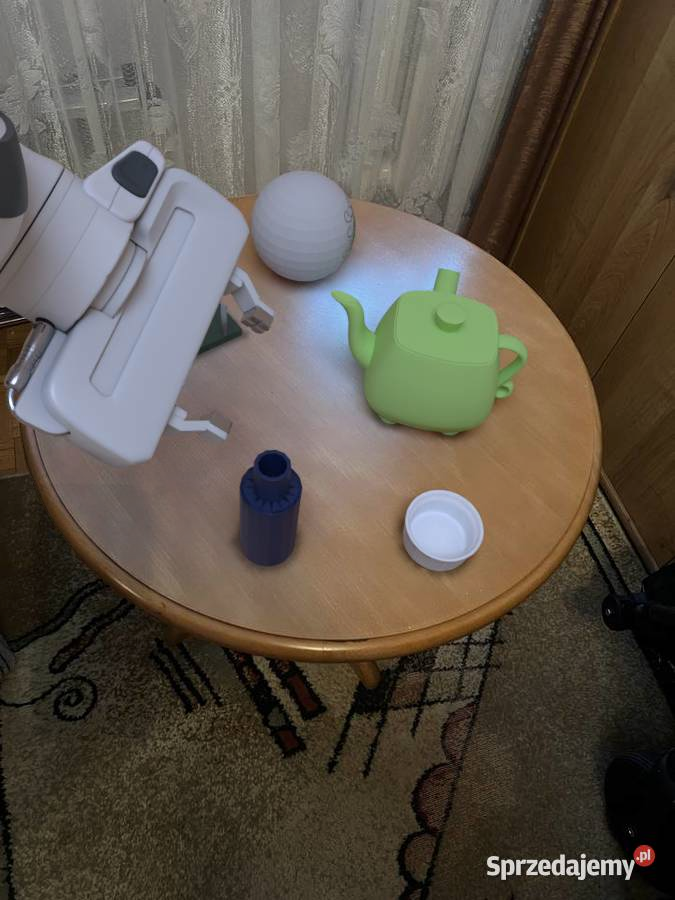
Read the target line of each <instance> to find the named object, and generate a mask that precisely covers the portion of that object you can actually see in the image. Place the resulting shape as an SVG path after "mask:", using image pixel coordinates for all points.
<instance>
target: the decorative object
mask: <svg viewBox="0 0 675 900" xmlns="http://www.w3.org/2000/svg"><path fill="white" fill-rule="evenodd" d="M355 216H356V215H355V211H354V208H353V205H352V202H351V201H350V199H349V197H348V195H347V194H346V192H345V191H344V190H343V189H342V188H341V186H340V185H339V184H338V183H337V182H336V181H334V180H333V179H331V178H329V177H328V176H326V175H324V174H322V173H319V172H316V171H312V170H305V169H304V170H299V169H298V170H292V171H289V172H286V173H283V174H281V175H279V176H277V177H275V178H274V179H272V180H271V181H270V182H269V183H268V184H266V185H265V186H264V188H263V189H262V190H261V191H260V193H259V195H257V198H256V200H255V202H254V204H253V208H252V210H251V218H250V234H251V235H250V236H251V238H252V243H253V246H254V248H255V251H256V252H257V255H258V256H259V258H260V259H261V260H262V262H263V263H264V264H265V265H266V266H267V268H269V269H270V270H271V271H273V272H274V273H275V274H277V275H279V276H280V277H282V278H285V279H288V280H291V281H296V282H313V281H314V282H315V281H317V280H320V279H323V278H325V277H327V276H329V275H331V274H332V273H334V272H335V271H336V270H338V269H339V267H341V266H342V265H343V263H344V262H345V261H346V259H347V258H348V256H349V255H350V252H351V251H352V249H353V245H354V242H355V238H356V223H357V222H356V217H355Z"/></svg>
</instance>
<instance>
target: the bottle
mask: <svg viewBox="0 0 675 900" xmlns="http://www.w3.org/2000/svg"><path fill="white" fill-rule="evenodd" d="M302 493H303V484H302V480H301V477H300V475H299V474H298V473H297V472H296V471H295V469H294V468H292V461H291V459H290V458H289V457H288V455H287V453H285V452H283V451H282V450H281V451H280V450H279V449H266V450H264V451H262V452H260V453H259V454H257V456H256V458H255V459H254V461H253V466H251V467H249V468H248V469H246V471H245V473H244V474H243V475H242V476H241V479H240V483H239V540H240V547H241V550H242V551H241V552H242V553H243V555H244V556H245V558H247V559H248V560H249V561H250V562H252V563H253V564H255V565H257V566H261V567H272V566H273V567H274V566H277V565H279V564H282V563H283V562H285V561H286V560H287V559H288V558H289V557H290V556H291V554H293V553H292V552H293V551H294V547H295V542H296V535H297V529H298V522H299V515H300V508H301V501H302Z"/></svg>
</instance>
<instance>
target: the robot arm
mask: <svg viewBox="0 0 675 900" xmlns="http://www.w3.org/2000/svg"><path fill="white" fill-rule="evenodd" d="M165 168H166V158H165V156H164V155H163V154H162V152H160V150H158V149H157V148H156V147H155V146H153V144H152V143H149V142H148V141H146V140H142V139H141V140H138V141H135V142H134V143H133V144H131V145H130V146H128V147H127V148H126V149H124V150H123V151H121V153H119V154H117V155H116V156H115V157H114V158H112V159H111V160H109V161H108V162H106V164H104V165H102V166H101V167H99V168H98V169H97V170H95V171H93V173H90V174H89V175H88V176H87V177H86V178H81V177H79V176H78V175H76V174H75V173H74V172H73V171H71V170H70V169H68V168H67V167H65V165H63V164H61V163H60V162H59V161H57V160H54V159H53V158H51V157H47V156H45V155H42V154H40V153H38V152H36V151H34V150H32V149H30V148H29V147H27V146H26V145H24V144H23V143H21V142H20V141H19V137H18V133H17V130H16V126H15V124H14V122H13V121H12V119H10V117H9V116H8V115H7V114H5V113H4V112H3V111H1V110H0V304H1V305H2V306H4V307H6V308H7V309H9V310H10V311H12V312H14V313H15V314H17V315H19V316H21V317H23V318H24V319H26V320H27V321H29V322H31V323H33V326H32V328H31V330H30V332H29V334H28V335H27V337H26V339H25V341H24V343H23V345H22V348H21V351H20V353H19V355H18V357H17V359H16V361H15V363H14V364H12V366H10V368H9V369H8V371H7V373H6V376H5V378H4V382H3V386H4V388H5V389H6V395H5V398H6V399H5V400H6V405H7V408H8V410H9V412H10V413H11V414H10V415H12V416H13V417H14V419H16V421H18V422H19V423H20V424H22V425H24V426H26V427H28V428H30V429H32V430H34V431H36V432H37V433H40V434H42V435H45V436H48V437H57V438H58V437H59V438H60V437H62V438H63V439H64V440H65V441H67V442H68V443H70V444H71V445H73V446H75V447H76V448H77V449H79V450H81V451H82V452H83V453H85V454H87V455H88V456H91V457H92V458H93V459H95V460H97V461H99V462H100V463H102V464H104V465H106V466H108V467H110V468H113V469H115V470H116V469H117V470H124V469H125V470H126V469H131V468H134V467H138V466H140V465H143V464H145V463H148V462H150V461H151V460H152V459H153V457H154V455H155V452H156V451H157V448H158V446H159V444H160V441H161V439H162V437H163V435H165V436H187V435H198V436H199V437H201V438H202V439H205V440H206V441H208V442H210V443H212V444H216V445H219V444H222V443H226V442H227V440H228V437H229V435H230V431H231V429H232V426H233V423H234V422H233V421H232V420H231V419H230V418H224V415H222V414H221V413H219V412H217V411H216V410H213V411H210V412H208V413H206V412H205V413H203V414H201V416H200V419H199V420H186V419H187V416H188V412H187V411H186V410H184V409H183V408H181V407H179V406H178V405H177V403H178V400H179V397H180V396H181V393H182V390H183V388H184V386H185V384H186V381H187V379H188V376H189V375H190V372H191V370H192V367H193V365H194V363H195V361H196V358H197V356H198V355H197V354H198V351H199V349H200V347H201V345H202V342H203V340H204V338H205V335H206V333H207V331H208V328H209V326H210V324H211V322H212V319H213V317H214V315H215V312H216V310H217V308H218V305H219V304H220V303H221V301H222V299H223V297H226V296H228V295H231V296H232V298H233V299H234V302H235V303H236V305H237V306H238V307H239V309H240V311H242V316H241V319H240V323H241V324H242V325H244V326H245V327H246V328H250V330H251V331H252V332H253V333H255V334H258V335H262V334H264V333H265V332H268V331H270V329H271V326H272V324H273V322H274V319H275V316H276V311H275V310H274V309H273V308H272V307H270V306H269V305H267V303H265V302H263V300H261V298H260V296H259V294H258V292H257V289H256V288H255V286H254V284H253V282H252V279H251V278H250V276H249V273H247V272H246V271H245V270H244V269H242V268H241V267H239V266H238V264H237V263H238V261H239V259H240V257H241V255H242V253H243V250H244V248H245V246H246V243H247V241H248V238H249V236H250V234H251V229H250V228H249V225H248V222H247V220H246V218H245V216H244V214H243V213H242V211H241V210H240V209H238V207H237V206H236V205H234V204H233V203H232V202H231V201H230V200H229V199H227V198H226V197H225V196H223V195H222V194H221V193H219V192H218V191H217V190H216V189H214V188H213V187H211V186H210V185H209V184H208V183H207V182H205V181H203V180H202V179H201V178H199V177H198V176H197V175H194V174H193V173H192V172H189V171H188V170H185V169H182V168H178V167H170V168H167V169H165ZM16 393H17V394H18V393H20V394H19V396H18V397H17V400H15V395H16Z"/></svg>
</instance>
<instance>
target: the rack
mask: <svg viewBox="0 0 675 900" xmlns="http://www.w3.org/2000/svg"><path fill="white" fill-rule="evenodd" d="M227 307H228V306H227V305H226V304H225V303H223V304H220V303H219V305H218V308H217V310H216V312H215V315H214V317H213V319H212V322H211V324H210V326H209V328H208V331H207V333H206V335H205V338H204V340H203V342H202V345H201V347H200V349H199V351H198V354H197V356H198V355H200V354H201V355H202V354H203V353H205V352H208V351H209V350H211V349H214V348H216V347H218V346H221V345H223V344H224V343H227V342H230V341H232V340H235V339H236V338H238V337H240V336H242V335H243V328H242V327H241V326H240V325H239V324H238V323H237V322H236V320H235V319H234V318H233V317H232V316H231V315H230V314H229V312H228V308H227Z"/></svg>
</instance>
